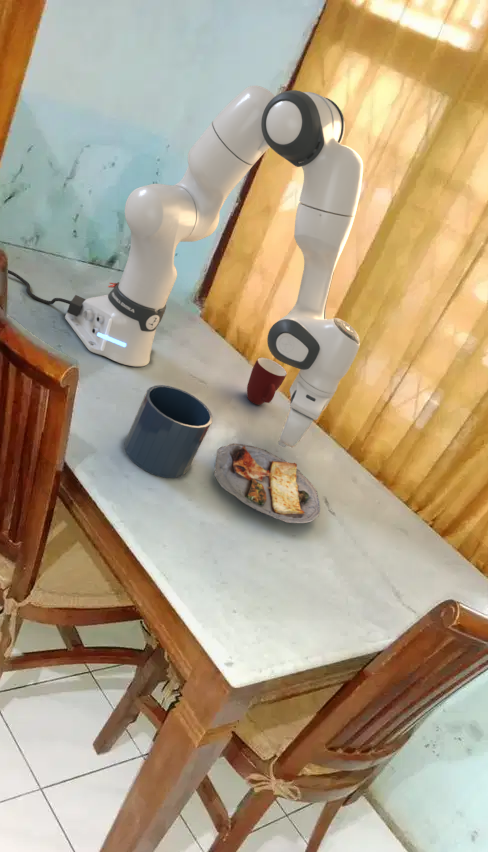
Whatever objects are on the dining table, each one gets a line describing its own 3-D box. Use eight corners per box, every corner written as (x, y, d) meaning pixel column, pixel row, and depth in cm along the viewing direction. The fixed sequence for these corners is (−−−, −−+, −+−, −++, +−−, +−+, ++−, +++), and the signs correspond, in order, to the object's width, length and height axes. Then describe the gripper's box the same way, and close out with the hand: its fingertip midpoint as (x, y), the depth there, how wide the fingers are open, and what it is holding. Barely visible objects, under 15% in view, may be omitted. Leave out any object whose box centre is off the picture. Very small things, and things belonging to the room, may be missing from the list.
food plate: (216, 437, 156) (222, 424, 155) (310, 478, 161) (318, 466, 160) (206, 501, 135) (214, 487, 134) (316, 545, 140) (324, 532, 139)
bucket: (110, 438, 137) (132, 387, 131) (159, 431, 148) (182, 383, 141) (152, 482, 132) (177, 431, 126) (200, 472, 142) (225, 424, 136)
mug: (277, 418, 178) (296, 384, 173) (251, 413, 173) (269, 378, 168) (261, 393, 185) (278, 360, 180) (235, 388, 180) (252, 354, 175)
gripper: (303, 369, 162) (276, 418, 169) (292, 403, 145) (262, 456, 152) (328, 382, 163) (299, 431, 170) (319, 417, 145) (288, 470, 152)
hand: (281, 443), depth 161 cm, fingers closed
